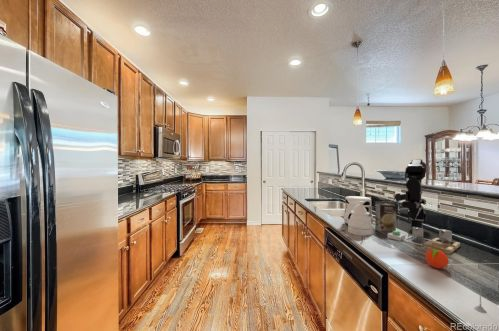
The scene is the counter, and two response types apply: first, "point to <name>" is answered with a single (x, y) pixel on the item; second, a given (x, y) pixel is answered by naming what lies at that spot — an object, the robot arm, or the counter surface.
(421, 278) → the counter surface
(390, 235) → the white square frame
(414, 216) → the robot arm
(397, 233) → the button
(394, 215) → the coffee box
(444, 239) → the billet
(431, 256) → the tomato
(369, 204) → the milk container
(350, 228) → the honey pot
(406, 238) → the grey flat rimmed tray
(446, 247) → the shallow beige tray
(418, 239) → the cylinder
